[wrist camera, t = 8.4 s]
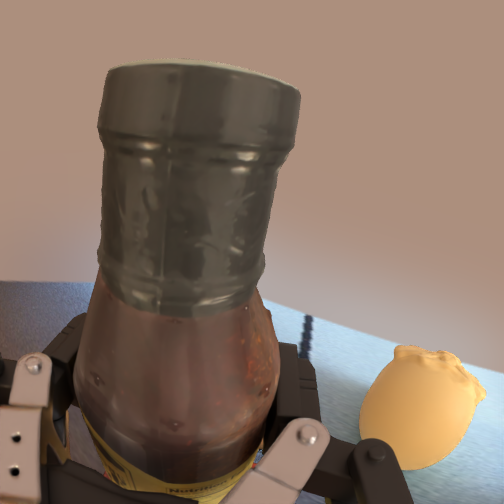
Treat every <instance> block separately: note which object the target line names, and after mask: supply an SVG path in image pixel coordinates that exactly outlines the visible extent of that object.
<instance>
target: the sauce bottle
mask: <svg viewBox="0 0 504 504" xmlns="http://www.w3.org/2000/svg"><path fill="white" fill-rule="evenodd" d="M300 101H301V95H300V92H299V90H298V89H297V88H296V87H295V86H293V85H291V84H288V83H286V82H284V81H282V80H280V79H277V78H274V77H271V76H268V75H266V74H263V73H260V72H257V71H253V70H250V69H246V68H242V67H238V66H234V65H229V64H223V63H217V62H210V61H203V60H194V59H182V58H181V59H180V58H178V59H148V60H139V61H133V62H128V63H124V64H121V65H118V66H116V67H113V68H111V69H110V70H109V71H108V74H107V77H106V80H105V85H104V92H103V99H102V103H101V107H100V111H99V117H98V125H97V128H98V132H99V137H100V140H101V142H102V144H103V147H104V161H103V179H102V207H101V213H102V220H101V242H100V245H99V248H98V250H97V255H98V263H99V265H100V266H99V270H98V274H97V278H96V282H95V285H94V289H93V292H92V296H91V299H90V303H89V307H88V311H87V315H86V319H85V323H84V327H83V331H82V335H81V339H80V344H79V348H78V353H77V357H76V361H75V365H74V372H73V382H74V389H75V393H76V397H77V400H78V403H79V406H80V409H81V413H82V416H83V419H84V421H85V423H86V425H87V428H88V430H89V433H90V435H91V438H92V440H93V443H94V445H95V447H96V450H97V453H98V455H99V457H100V459H101V462H102V464H103V466H104V468H105V470H106V472H107V474H108V476H109V478H110V480H111V481H113V482H114V483H116V484H117V485H119V486H121V487H122V488H124V489H127V490H135V491H147V492H162V493H167V494H171V495H175V496H179V497H184V498H188V499H193V500H198V501H199V504H218V503H219V502H220V501H221V500H222V499H223V498H224V496H225V495H226V494H227V493H228V492H229V491H230V490H231V489H232V488H233V486H234V485H235V484H236V483H237V482H238V481H239V480H240V478H241V477H242V476H243V475H244V474H245V473H246V472H247V471H248V470H249V469H250V468H251V466H252V464H253V462H254V459H255V457H256V454H257V452H258V449H259V447H260V444H261V442H262V439H263V436H264V433H265V429H266V419H267V415H268V413H269V409H270V408H271V405H272V401H273V399H274V396H275V393H276V390H277V386H278V379H279V375H280V352H279V342H278V340H277V337H276V335H275V331H274V327H273V323H272V319H271V317H272V315H271V312H270V310H268V309H266V308H265V307H264V305H263V302H262V299H261V297H260V295H259V291H258V289H257V287H256V286H257V283H258V280H259V279H260V277H261V275H262V274H263V272H264V268H265V255H264V253H263V246H264V241H265V237H266V232H267V228H268V223H269V219H270V211H271V207H272V203H273V198H274V191H275V189H276V183H277V176H278V172H279V170H280V168H281V167H282V165H283V163H284V162H285V161H286V159H287V157H288V154H289V152H290V151H291V150H292V149H293V147H294V143H295V134H296V128H297V124H298V118H299V110H300Z"/></svg>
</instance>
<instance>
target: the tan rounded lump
mask: <svg viewBox="0 0 504 504" xmlns="http://www.w3.org/2000/svg"><path fill="white" fill-rule="evenodd" d="M485 397H486V391H485V389H484V388H483V387H482V386H481V384H480V383H479V381H478V380H477V378H476V377H474V376H473V375H472V374H470V373H469V372H468V371H466V370H465V369H464V367H463V366H462V365H461V361H460V360H459V359H458V357H456V356H454V355H453V354H452V353H449V352H446V351H437V352H431V351H428V350H425V349H422V348H420V347H417V346H413V345H409V346H403V345H398V346H396V347H395V349H394V359H393V360H392V361H391V362H390V363H389V364H388V365H387V366H386V367H385V368H384V369H383V370H382V371H381V372H380V374H379V375H378V377H377V378H376V380H375V381H374V383H373V384H372V386H371V387H370V389H369V390H368V392H367V394H366V396H365V398H364V401H363V403H362V406H361V410H360V415H359V431H360V435H361V439H362V440H364V439H367V438H376V439H380V440H382V441H384V442H386V443H387V444H389V445H390V446H391V448H392V449H393V451H394V453H395V455H396V458H397V460H398V463H399V465H400V468H401V470H418V469H423V468H426V467H429V466H431V465H433V464H435V463H437V462H439V461H441V460H442V459H443V458H445V457H446V456H447V455H448V454H450V453H451V452H452V451H453V450H454V449H455V447H456V446H457V445H458V444H459V442H460V441H461V440H462V438H463V436H464V435H465V433H466V431H467V429H468V427H469V425H470V422H471V420H472V417H473V415H474V411H475V408H476V406H477V404H478V403H479V402H480V401H482V400H483V399H484V398H485Z"/></svg>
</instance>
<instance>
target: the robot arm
mask: <svg viewBox="0 0 504 504" xmlns="http://www.w3.org/2000/svg"><path fill="white" fill-rule="evenodd" d="M86 315H87V313H85V312H84V313H82V314H80V315H78V316H76V317H74V318H73V319H72V320H71V321H70V322H69V323H68V324H67V327H65V328H64V329H63V330H62V331H61V333H59V334H58V335H57V336H56V337H55V338H54V339H53V341H52V342H51V343H50V344H49V345H48V346H47V347H46V348H45V349H44V350H43V352H42V353H39V352H33V353H28V354H26V355H24V356H22V357H21V358H20V359H19V360H18V361H15V360H8V359H2V356H1V353H0V504H199V501H198V500H193V499H188V498H184V497H179V496H175V495H171V494H167V493H162V492H147V491H135V490H127V489H124V488H122V487H121V486H119V485H117V484H116V483H114V482H113V481H111V480H110V479H108V478H106V477H105V476H103V475H102V474H100V473H99V472H97V471H96V470H94V469H91V468H89V467H86V466H84V465H82V464H79V463H77V462H75V461H72V460H71V456H70V444H69V413H68V410H67V409H68V408H69V406H70V405H71V404H72V405H74V406H76V407H79V408H80V406H79V403H78V400H77V397H76V393H75V389H74V382H73V372H74V365H75V361H76V357H77V353H78V348H79V344H80V339H81V335H82V331H83V327H84V323H85V319H86ZM279 352H280V375H279V379H278V386H277V390H276V393H275V396H274V399H273V401H272V405H271V408H270V409H269V413H268V415H267V419H266V429H265V433H264V436H263V450H262V455H264V456H263V457H262V459H261V460H260V461H259V462H258V463H257V465H256V466H255V467H254V468H250V469H249V470H248V471H247V472H246V473H245V474H244V475H243V476H242V477H241V478H240V480H239V481H238V482H237V483H236V484H235V485H234V486H233V488H232V489H231V490H230V491H229V492H228V493H227V494H226V495H225V496H224V498H223V499H222V500H221V501H220V502H219V503H218V504H294V502H295V501H296V499H297V498H298V496H299V494H300V493H301V490H303V491H306V492H309V493H313V494H316V495H319V496H322V497H324V499H325V503H326V504H414V502H413V499H412V497H411V494H410V491H409V489H408V486H407V483H406V481H405V478H404V476H403V473H402V470H401V468H400V465H399V463H398V460H397V458H396V455H395V453H394V451H393V449H392V448H391V446H390V445H389V444H387V443H386V442H384V441H382V440H380V439H376V438H367V439H364V440H362V441H360V442H359V443H358V444H357V445H355V444H351V443H348V442H345V441H341V440H339V439H336V438H334V437H333V436H331V435H330V434H329V432H328V430H327V428H326V427H325V426H324V425H323V424H322V422H321V415H320V406H319V398H318V390H317V382H316V374H315V369H314V367H313V366H312V364H311V363H310V361H309V360H308V359H301V358H298V352H297V345H296V344H289V343H283V342H279Z"/></svg>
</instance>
